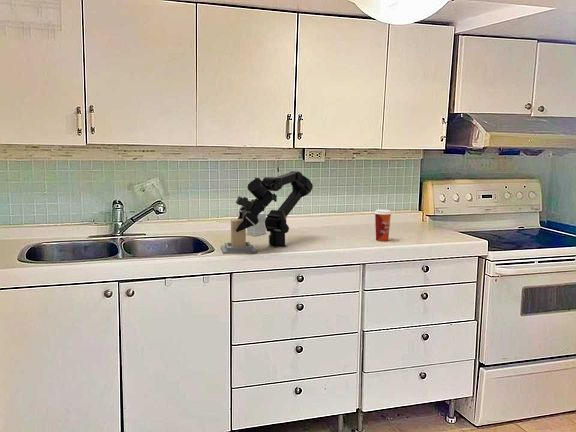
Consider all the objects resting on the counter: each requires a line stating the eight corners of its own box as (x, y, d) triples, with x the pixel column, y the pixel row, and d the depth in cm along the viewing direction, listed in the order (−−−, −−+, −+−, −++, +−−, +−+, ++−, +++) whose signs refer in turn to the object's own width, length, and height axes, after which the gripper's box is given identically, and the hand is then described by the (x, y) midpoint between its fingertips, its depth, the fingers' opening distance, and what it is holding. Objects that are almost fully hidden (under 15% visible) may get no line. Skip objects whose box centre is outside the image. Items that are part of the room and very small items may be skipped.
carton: (243, 246, 243) (243, 218, 241) (245, 249, 237) (245, 220, 236) (231, 247, 241) (230, 219, 240) (232, 249, 236) (232, 221, 234)
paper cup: (384, 242, 257) (385, 212, 255) (370, 240, 262) (371, 210, 260) (393, 240, 262) (394, 210, 260) (379, 238, 268) (380, 208, 265)
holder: (252, 246, 247) (252, 241, 246) (256, 252, 235) (256, 247, 235) (220, 247, 244) (220, 242, 244) (223, 253, 232) (223, 248, 232)
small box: (257, 232, 280) (257, 211, 278) (266, 234, 276) (266, 212, 275) (246, 235, 274) (246, 213, 272) (255, 236, 270) (255, 214, 269)
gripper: (244, 187, 245) (219, 213, 245) (250, 192, 227) (223, 220, 227) (262, 204, 248) (237, 230, 248) (269, 210, 230) (243, 238, 230)
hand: (234, 229), depth 238 cm, fingers open, 9 cm apart
